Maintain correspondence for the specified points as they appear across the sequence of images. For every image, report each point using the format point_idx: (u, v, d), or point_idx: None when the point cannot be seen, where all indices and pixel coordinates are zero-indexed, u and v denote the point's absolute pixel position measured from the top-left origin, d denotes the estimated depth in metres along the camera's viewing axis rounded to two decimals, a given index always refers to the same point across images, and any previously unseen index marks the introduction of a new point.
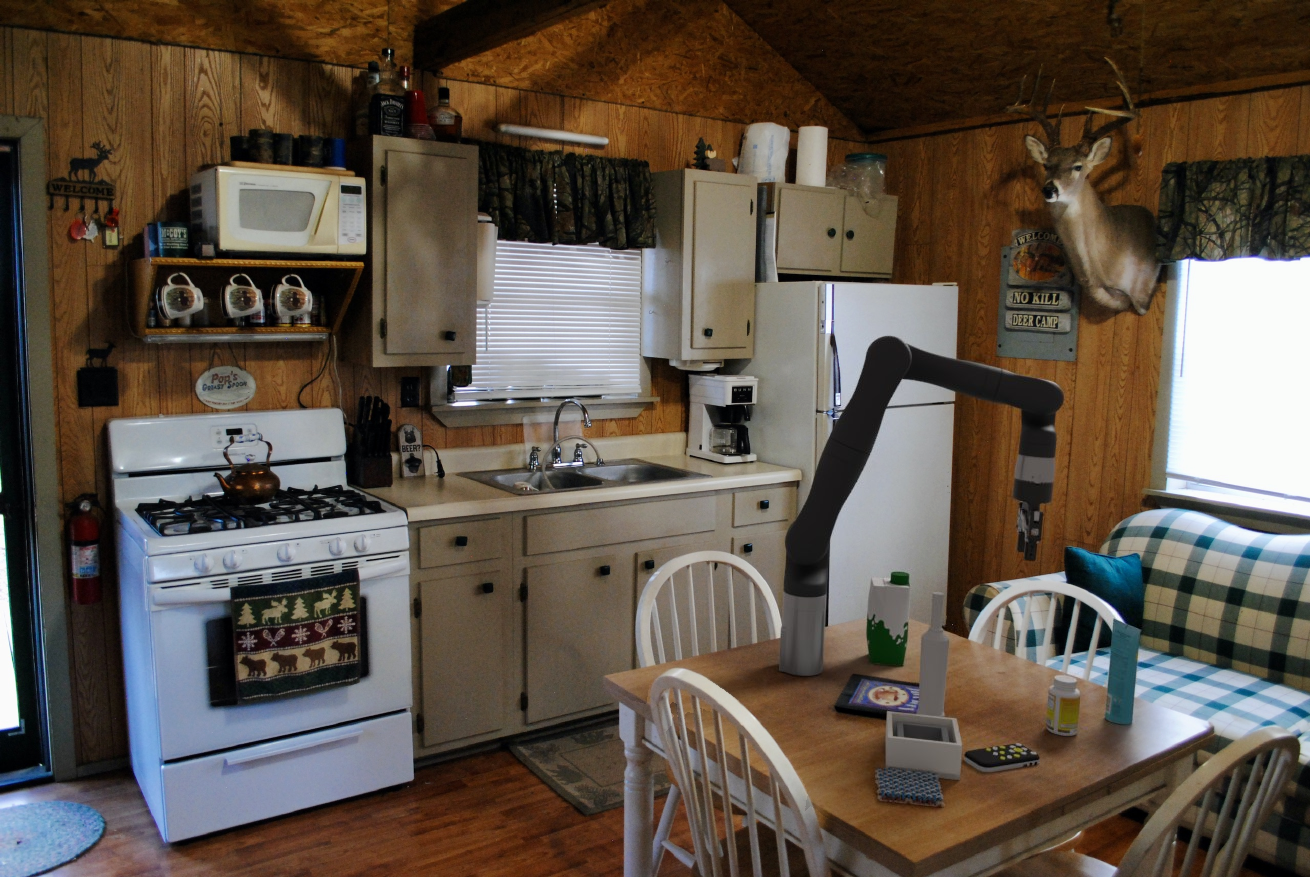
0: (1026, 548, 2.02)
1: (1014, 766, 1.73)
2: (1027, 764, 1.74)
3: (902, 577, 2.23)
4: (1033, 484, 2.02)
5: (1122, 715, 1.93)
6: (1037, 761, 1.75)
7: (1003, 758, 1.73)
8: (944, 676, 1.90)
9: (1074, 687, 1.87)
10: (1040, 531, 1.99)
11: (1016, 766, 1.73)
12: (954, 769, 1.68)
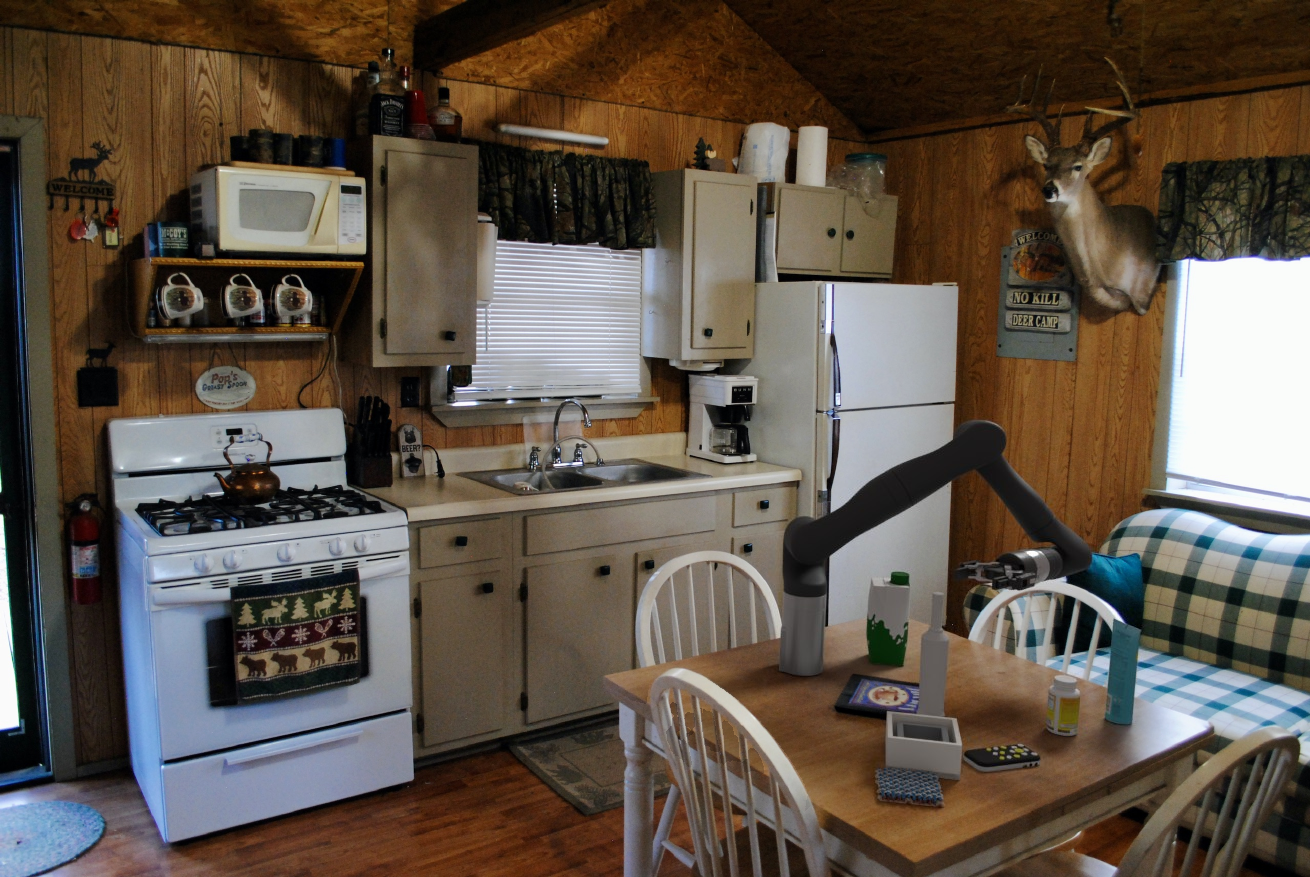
0: (1002, 578, 1.94)
1: (1013, 766, 1.73)
2: (1027, 765, 1.74)
3: (902, 577, 2.23)
4: (1036, 569, 2.03)
5: (1122, 715, 1.93)
6: (1038, 762, 1.75)
7: (1002, 758, 1.73)
8: (944, 676, 1.90)
9: (1074, 687, 1.87)
10: (1025, 587, 1.95)
11: (1015, 766, 1.73)
12: (954, 769, 1.68)
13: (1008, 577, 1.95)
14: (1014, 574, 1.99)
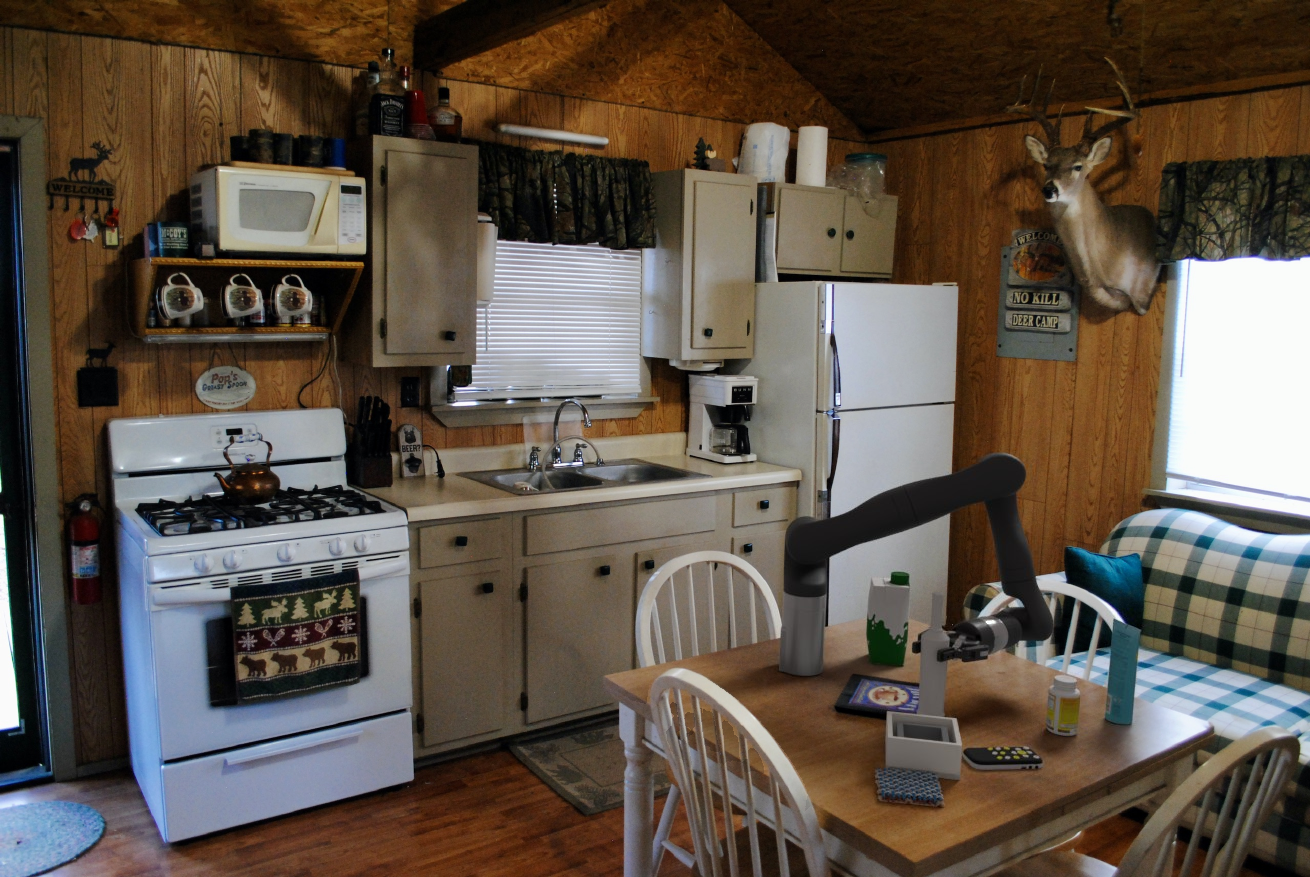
0: (948, 650, 1.88)
1: (1011, 767, 1.73)
2: (1026, 767, 1.73)
3: (902, 577, 2.23)
4: (993, 639, 1.96)
5: (1122, 715, 1.93)
6: (1038, 765, 1.73)
7: (1000, 758, 1.73)
8: (944, 676, 1.90)
9: (1074, 687, 1.87)
10: (973, 660, 1.89)
11: (1013, 767, 1.73)
12: (954, 769, 1.68)
13: (954, 648, 1.89)
14: (970, 645, 1.92)
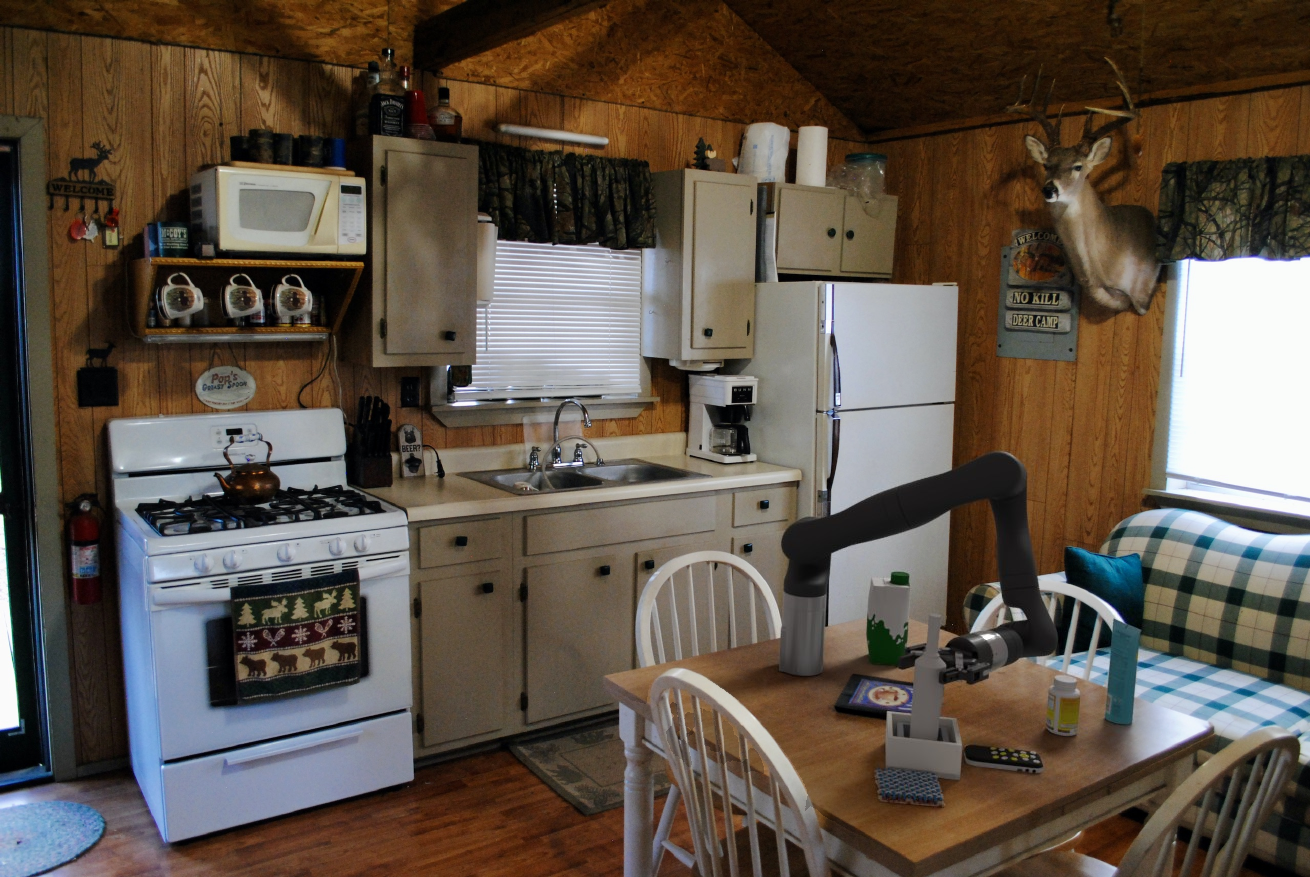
0: (951, 671, 1.70)
1: (1005, 767, 1.73)
2: (1022, 769, 1.72)
3: (902, 577, 2.23)
4: (991, 656, 1.78)
5: (1122, 715, 1.93)
6: (1036, 769, 1.72)
7: (995, 757, 1.74)
8: (939, 706, 1.72)
9: (1074, 687, 1.87)
10: (977, 681, 1.70)
11: (1008, 768, 1.72)
12: (954, 769, 1.68)
13: (958, 669, 1.70)
14: (966, 664, 1.74)
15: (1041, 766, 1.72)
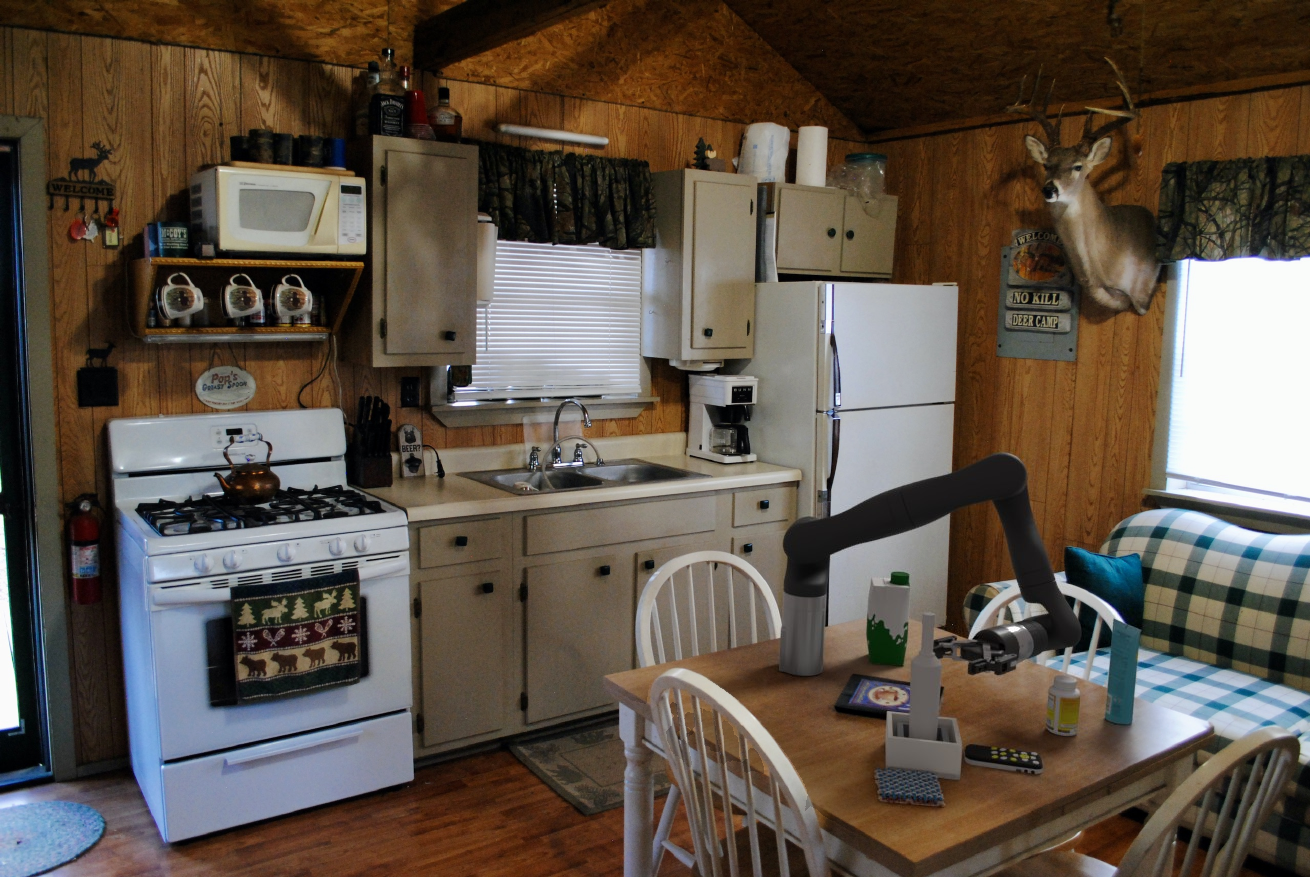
0: (980, 662, 1.75)
1: (1004, 767, 1.73)
2: (1021, 770, 1.72)
3: (902, 577, 2.23)
4: (1018, 648, 1.83)
5: (1122, 715, 1.93)
6: (1035, 770, 1.71)
7: (994, 757, 1.74)
8: (936, 705, 1.72)
9: (1074, 687, 1.87)
10: (1005, 671, 1.75)
11: (1006, 768, 1.72)
12: (954, 769, 1.68)
13: (986, 660, 1.75)
14: (993, 655, 1.79)
15: (1040, 767, 1.71)
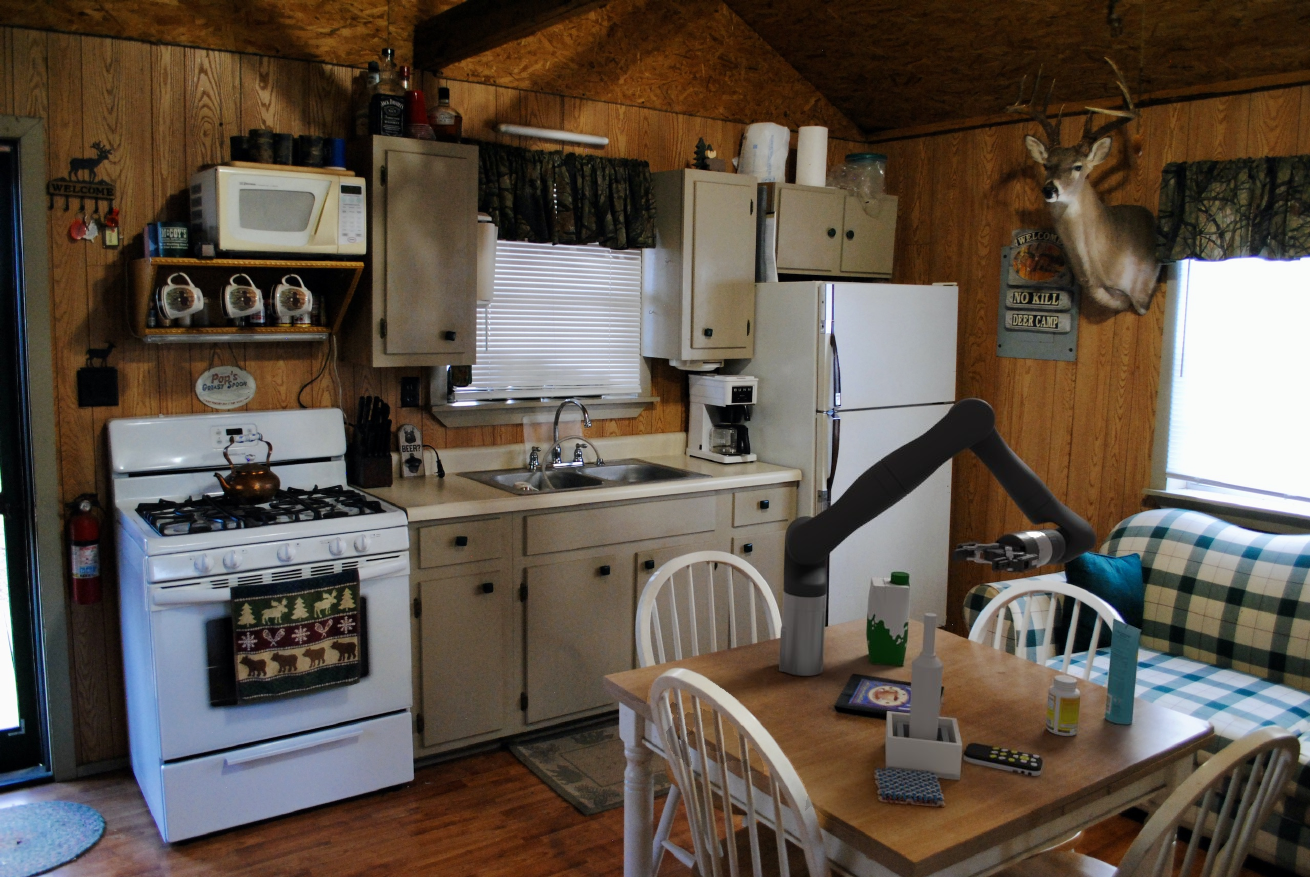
0: (1003, 559, 1.84)
1: (1001, 767, 1.73)
2: (1018, 771, 1.71)
3: (902, 577, 2.23)
4: (1038, 551, 1.93)
5: (1122, 715, 1.93)
6: (1032, 772, 1.70)
7: (992, 756, 1.74)
8: (937, 706, 1.72)
9: (1074, 687, 1.87)
10: (1027, 569, 1.85)
11: (1003, 768, 1.72)
12: (954, 769, 1.68)
13: (1009, 558, 1.85)
14: (1015, 555, 1.89)
15: (1038, 769, 1.71)
